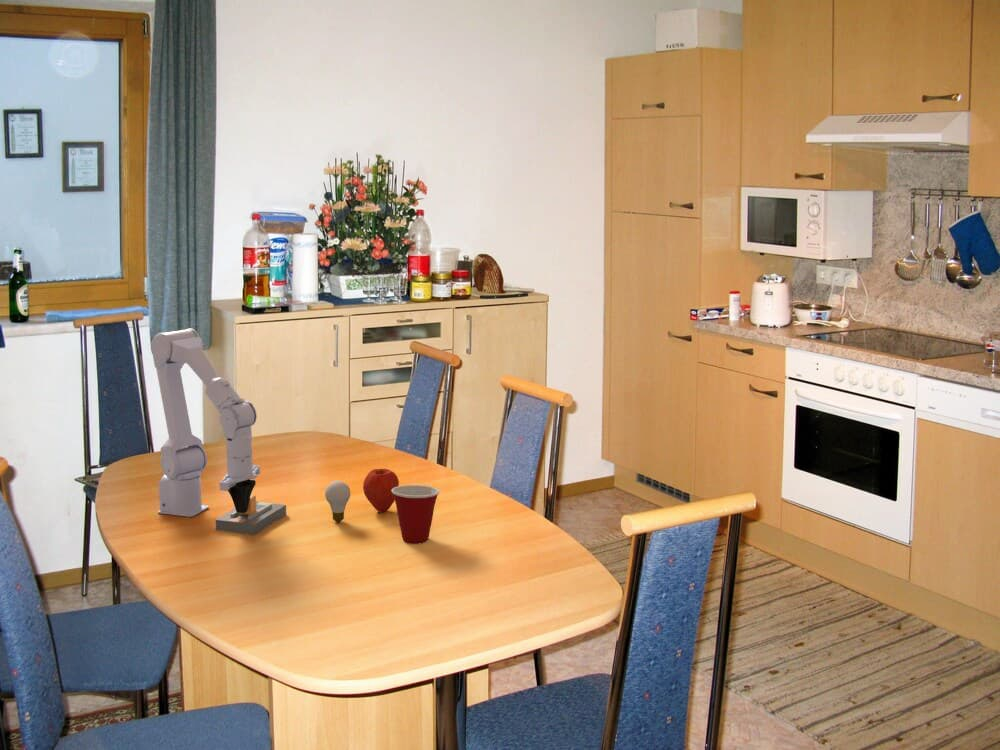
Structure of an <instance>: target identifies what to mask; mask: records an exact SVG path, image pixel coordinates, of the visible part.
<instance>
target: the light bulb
mask: <svg viewBox="0 0 1000 750" xmlns="http://www.w3.org/2000/svg"><path fill="white" fill-rule="evenodd" d="M324 491H325V493H324V495H325V499H326V501H327V503H328V504H329V506H330V509H331V513H332V520H333V521H334V522H336V523H340V522H342V521H343V520H345V510H346V506H347V504H348V502H349V500H350V497H351V488H350V486H349V485H348V484H347V483H346V482H344V481H342V480H333V481H331V482H330V483H329V484H328V485H327V487H326V488H325V490H324Z"/></svg>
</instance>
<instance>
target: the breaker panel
mask: <svg viewBox="0 0 1000 750" xmlns="http://www.w3.org/2000/svg"><path fill="white" fill-rule="evenodd" d="M285 516H287V505H286V504H281V503H274V502H263V501H257V500H256V512H254V513H252V514H251V515H248V514H240V513H238V512H236V509H235V508H234V509H231V510H230V511H228V512H227V513H225V514H222V515H221V516H220V517H217V518H216V519H215V531H220V532H228V533H229V532H230V533H237V534H245V535H251V536H255V535H257V534H258V533H259V532H262V531H263V530H264V529H266V528H268V527H269V526H271V525H273V524H275V522H278V521H279V520H280V519H282V518H284V517H285Z"/></svg>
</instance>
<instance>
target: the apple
mask: <svg viewBox="0 0 1000 750" xmlns="http://www.w3.org/2000/svg"><path fill="white" fill-rule="evenodd" d="M398 486H400V481H399V478H398V476H397V474H396V472H394V471H392V470H391V469H388V468H374V469H372V470H370V471H369V472H368V473H367V475H366V476H365V478H364V480H363V486H362V489H363V493H364V496H365V497H366V499H367V501H368V502H369V503H370V504H371V506H372V507H373V508H374V509H375V510H376V511H377V512H380V513H387V511H389V509H390V508H391V507H392V505H393V504H394V503H395V499H394V495H393V493H392V491H391V490H392V489H393V488H395V487H398Z"/></svg>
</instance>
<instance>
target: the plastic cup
mask: <svg viewBox="0 0 1000 750" xmlns="http://www.w3.org/2000/svg"><path fill="white" fill-rule="evenodd" d="M391 491H392V493H393V495H394V499H395V501H394V503H395V506H396V512H397V518H398V523H399V527H400V533H401V537H402V541H403V542H404V543H405V544H409V543H410V545H420V544H419V543H421V544H424V543H423V542H425V543H426V541H427V542H428V540H429V537H430V532H431V526H432V523H433V517H434V511H435V505H436V501H437V499H438V496H439V494H440V492H441V491H440V489H439V488H437V487H434V486H431V485H429V486H428V485H421V484H420V485H419V484H408V485H407V484H406V485H399V486H398V487H395V488H393V489H392V490H391Z"/></svg>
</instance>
